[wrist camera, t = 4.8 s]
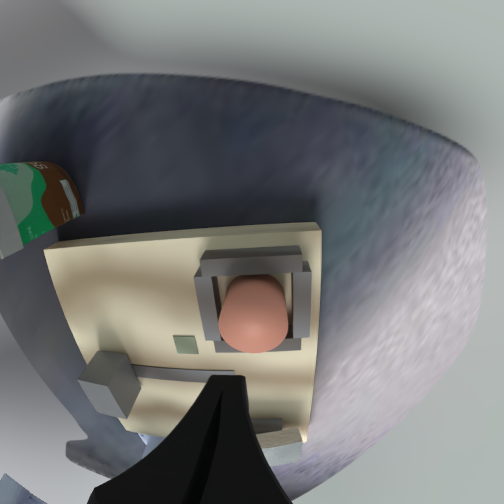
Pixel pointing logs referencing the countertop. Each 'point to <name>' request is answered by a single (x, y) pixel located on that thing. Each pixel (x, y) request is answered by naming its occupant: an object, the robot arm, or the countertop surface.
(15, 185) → the food container
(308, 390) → the control board
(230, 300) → the push button
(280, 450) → the rocker switch
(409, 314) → the countertop surface
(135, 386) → the slider knob
